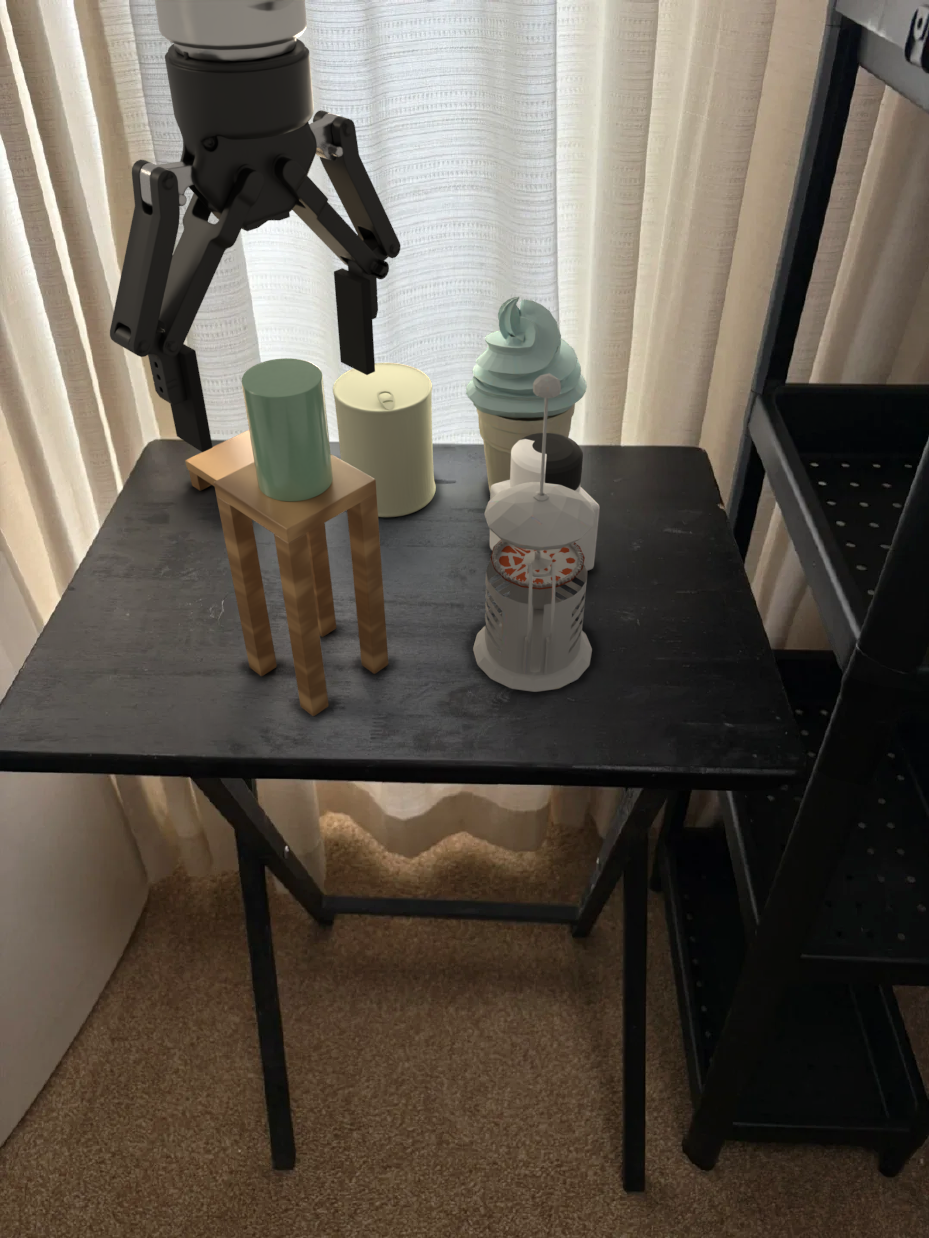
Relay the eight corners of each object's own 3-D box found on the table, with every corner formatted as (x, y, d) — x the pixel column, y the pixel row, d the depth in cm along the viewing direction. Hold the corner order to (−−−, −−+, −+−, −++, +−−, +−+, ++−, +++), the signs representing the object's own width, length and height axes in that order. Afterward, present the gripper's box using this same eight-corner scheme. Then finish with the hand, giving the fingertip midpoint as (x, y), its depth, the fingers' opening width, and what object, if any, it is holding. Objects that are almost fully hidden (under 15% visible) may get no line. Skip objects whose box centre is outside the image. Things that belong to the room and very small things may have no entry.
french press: (587, 610, 90) (614, 341, 73) (599, 708, 81) (632, 429, 65) (473, 609, 90) (474, 341, 73) (472, 708, 81) (473, 428, 65)
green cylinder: (290, 511, 70) (275, 406, 65) (242, 481, 73) (224, 377, 67) (348, 479, 73) (338, 376, 68) (300, 451, 76) (287, 350, 70)
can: (349, 523, 99) (338, 412, 91) (336, 471, 106) (325, 363, 98) (444, 510, 101) (442, 400, 93) (425, 459, 107) (422, 352, 100)
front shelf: (313, 717, 81) (286, 529, 69) (249, 667, 85) (213, 481, 73) (389, 664, 85) (376, 479, 73) (324, 619, 89) (302, 437, 77)
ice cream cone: (583, 516, 100) (601, 320, 87) (467, 519, 100) (467, 323, 86) (571, 459, 108) (586, 270, 94) (463, 461, 107) (462, 272, 94)
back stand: (239, 518, 100) (235, 492, 98) (190, 485, 104) (184, 460, 102) (304, 483, 104) (301, 458, 102) (254, 453, 108) (250, 428, 106)
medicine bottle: (555, 527, 99) (562, 416, 91) (595, 570, 94) (606, 456, 86) (488, 548, 96) (489, 435, 88) (525, 592, 92) (530, 478, 84)
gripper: (58, 105, 46) (151, 504, 60) (453, 15, 59) (453, 357, 73) (-25, 73, 50) (80, 454, 64) (364, -5, 63) (380, 323, 77)
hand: (280, 403), depth 69 cm, fingers open, 13 cm apart
